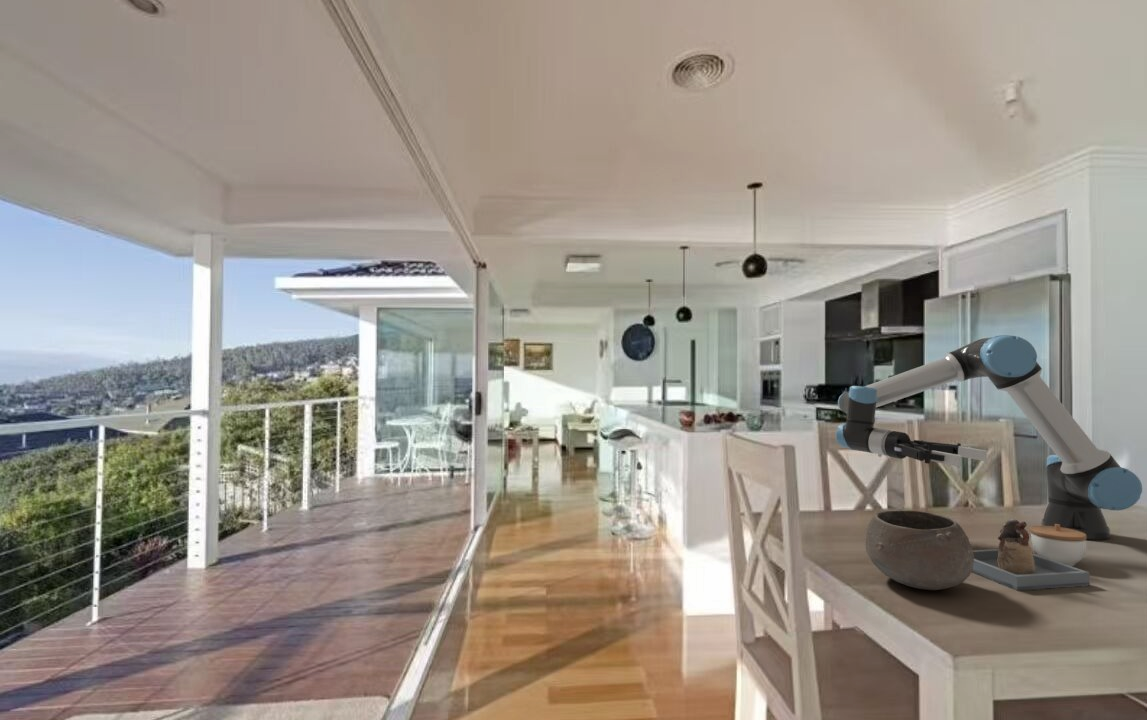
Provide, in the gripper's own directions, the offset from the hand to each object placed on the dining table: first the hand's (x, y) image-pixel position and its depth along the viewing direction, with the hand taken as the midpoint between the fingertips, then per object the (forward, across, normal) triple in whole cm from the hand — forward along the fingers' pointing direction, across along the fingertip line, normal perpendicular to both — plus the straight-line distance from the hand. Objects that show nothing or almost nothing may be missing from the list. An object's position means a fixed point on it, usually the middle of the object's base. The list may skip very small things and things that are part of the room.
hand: (973, 458), depth 142 cm
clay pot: (+3, +29, -26) cm, 39 cm away
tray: (+12, +4, -25) cm, 28 cm away
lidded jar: (+14, -15, -25) cm, 32 cm away
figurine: (+12, +4, -24) cm, 27 cm away
